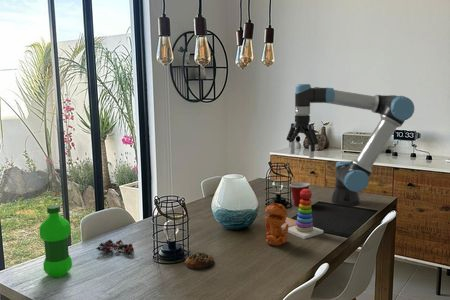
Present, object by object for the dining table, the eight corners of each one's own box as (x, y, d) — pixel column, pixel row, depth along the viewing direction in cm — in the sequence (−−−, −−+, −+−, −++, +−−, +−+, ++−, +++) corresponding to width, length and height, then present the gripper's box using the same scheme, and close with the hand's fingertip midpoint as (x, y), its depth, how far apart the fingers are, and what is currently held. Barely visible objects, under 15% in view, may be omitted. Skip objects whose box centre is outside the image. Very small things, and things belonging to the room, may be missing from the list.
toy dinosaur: (256, 243, 182) (257, 201, 179) (272, 236, 190) (272, 196, 187) (278, 250, 174) (279, 207, 172) (293, 242, 182) (294, 201, 179)
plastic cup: (294, 201, 243) (295, 180, 241) (312, 204, 237) (313, 183, 235) (285, 206, 234) (285, 184, 232) (303, 209, 228) (304, 187, 226)
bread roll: (204, 272, 155) (203, 258, 155) (179, 269, 161) (178, 256, 160) (220, 262, 165) (218, 249, 164) (196, 260, 170) (194, 247, 170)
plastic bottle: (79, 269, 159) (74, 203, 155) (62, 282, 148) (57, 212, 144) (55, 266, 161) (49, 201, 157) (36, 279, 151) (30, 210, 147)
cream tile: (303, 225, 203) (303, 223, 203) (323, 233, 193) (323, 230, 193) (285, 231, 196) (285, 228, 196) (304, 238, 186) (304, 236, 186)
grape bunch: (93, 257, 167) (95, 245, 167) (99, 246, 181) (101, 235, 181) (133, 260, 169) (134, 248, 168) (136, 248, 183) (137, 238, 183)
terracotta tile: (283, 218, 214) (283, 216, 214) (301, 224, 204) (301, 222, 204) (265, 223, 207) (265, 220, 207) (282, 230, 197) (282, 227, 197)
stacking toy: (308, 233, 189) (309, 192, 186) (292, 230, 194) (292, 189, 191) (316, 228, 195) (317, 188, 192) (300, 225, 200) (301, 185, 197)
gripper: (280, 113, 228) (279, 153, 231) (315, 116, 208) (314, 160, 211) (290, 112, 232) (289, 151, 235) (326, 115, 212) (325, 158, 215)
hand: (301, 155), depth 223 cm, fingers open, 13 cm apart
